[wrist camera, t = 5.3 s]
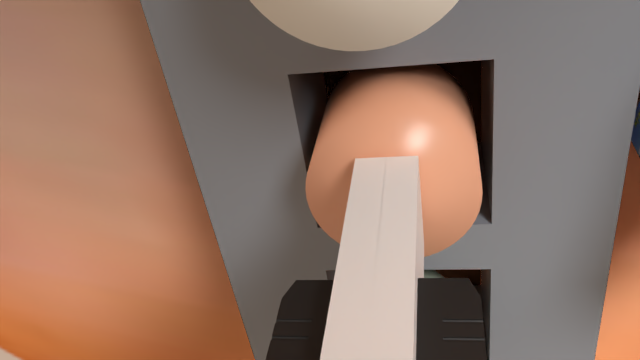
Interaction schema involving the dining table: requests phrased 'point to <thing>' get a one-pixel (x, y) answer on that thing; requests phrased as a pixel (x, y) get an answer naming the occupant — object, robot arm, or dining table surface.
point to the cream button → (354, 20)
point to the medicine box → (636, 130)
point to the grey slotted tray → (494, 149)
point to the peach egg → (400, 146)
